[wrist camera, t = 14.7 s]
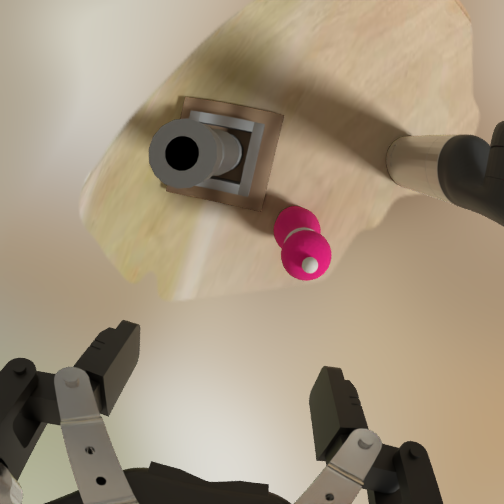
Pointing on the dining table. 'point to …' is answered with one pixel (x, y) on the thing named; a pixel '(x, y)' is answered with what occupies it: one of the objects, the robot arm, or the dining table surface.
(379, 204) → the dining table surface
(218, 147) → the candle holder
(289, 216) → the pepper mill
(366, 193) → the dining table surface
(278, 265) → the dining table surface
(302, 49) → the dining table surface
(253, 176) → the socket board
